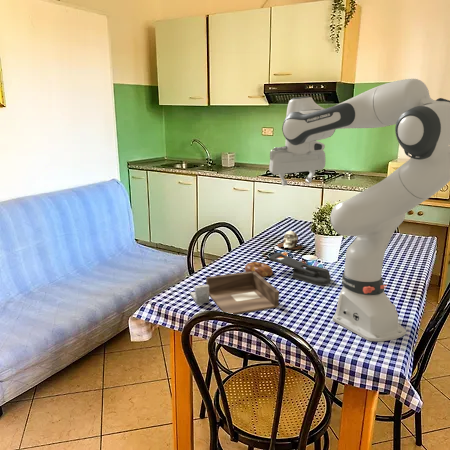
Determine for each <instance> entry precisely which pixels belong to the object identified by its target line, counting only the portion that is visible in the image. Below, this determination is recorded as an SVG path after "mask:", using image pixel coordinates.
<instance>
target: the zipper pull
mask: <svg viewBox="0 0 450 450" xmlns="http://www.w3.org/2000/svg"><path fill="white" fill-rule="evenodd" d="M278 258H282V259H278ZM268 260H270V261H273V262H274V263H278V264H281V265H284V266H287V267H289V268H292V269H293V271H292V278H293V279H296V280H298V281H302V282H305V283H309V284H311V285H315V286H321V287H323V286H326V285H329V284H330V282H331V277H332V276H331V274H330V271H329V270H328V268H324V267H320V266H317V265H316V266H315V265H311V264H306V263H304V262H302V261H300V260H297V259H295V258H292V257H290V256H288V255H285V254H283V253H281V252H276V253H274V254H271V255H270V256H269V258H268Z"/></svg>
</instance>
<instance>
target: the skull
mask: <svg viewBox="0 0 450 450" xmlns="http://www.w3.org/2000/svg"><path fill="white" fill-rule="evenodd" d="M298 241H299V236H298V234H297V233H296V232H295V231H292V230H288V231H286V232H285V234H284V236H283V242H281V243H278V244H277V247H278V248H281V247H285V248H288V249H287V250H301V249H302V248H303V246H302V245H301V246H298V245H297V244H298ZM296 245H297V246H296ZM285 248H284V249H285Z"/></svg>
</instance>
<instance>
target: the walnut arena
mask: <svg viewBox="0 0 450 450" xmlns="http://www.w3.org/2000/svg"><path fill="white" fill-rule="evenodd" d="M209 298H211V300H212V301H214V303H215V304H216V306H217V307H218V308H219V309H220V310H221V312H222V311H223V312H228V313H233V315H237V314H243V313H249V312H255V311H262V310H263V311H264V310H268V309H274V308H279V305H277V306H274V305H273V304H272V303H271V302H270V301H269V300H268V299H266V298H265V297H264V296H263V295H262V294H261V293H260V292H259V291H258V290H257V289H256V288H255V287H253V286H252V285H250V286H243V287H236V288H230V289H223V290H216V291H209ZM223 312H222V313H223Z"/></svg>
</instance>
